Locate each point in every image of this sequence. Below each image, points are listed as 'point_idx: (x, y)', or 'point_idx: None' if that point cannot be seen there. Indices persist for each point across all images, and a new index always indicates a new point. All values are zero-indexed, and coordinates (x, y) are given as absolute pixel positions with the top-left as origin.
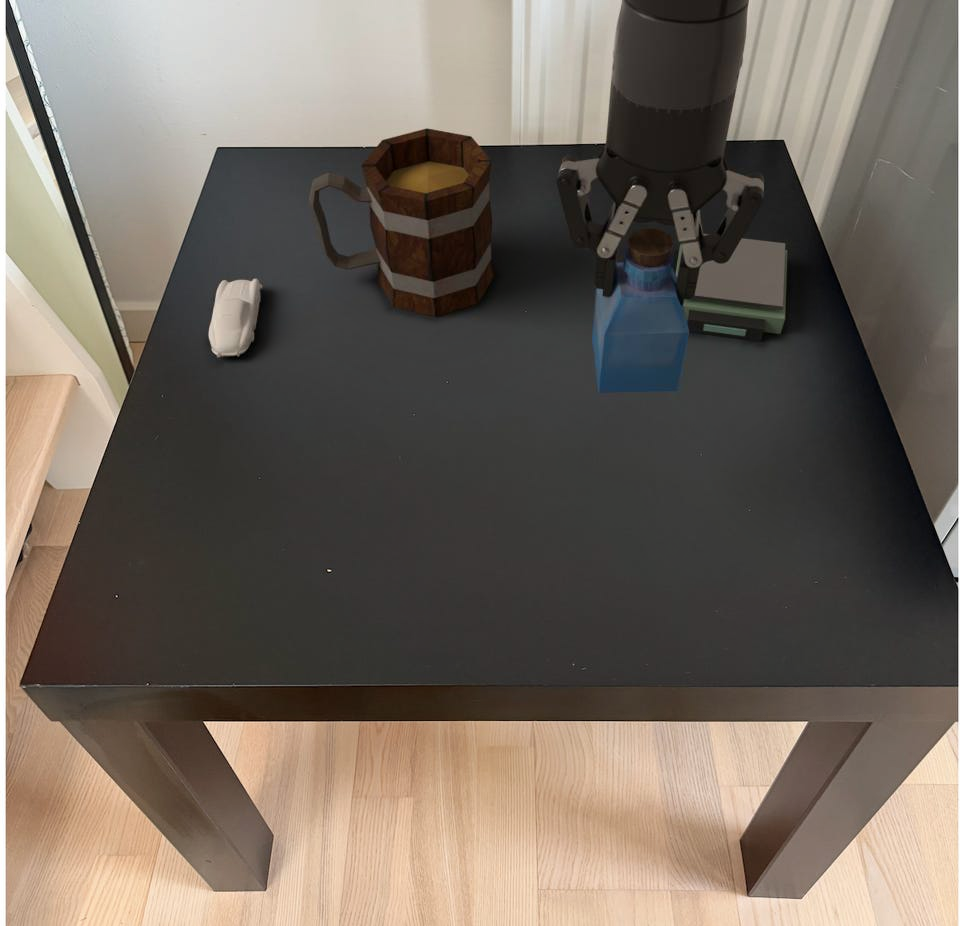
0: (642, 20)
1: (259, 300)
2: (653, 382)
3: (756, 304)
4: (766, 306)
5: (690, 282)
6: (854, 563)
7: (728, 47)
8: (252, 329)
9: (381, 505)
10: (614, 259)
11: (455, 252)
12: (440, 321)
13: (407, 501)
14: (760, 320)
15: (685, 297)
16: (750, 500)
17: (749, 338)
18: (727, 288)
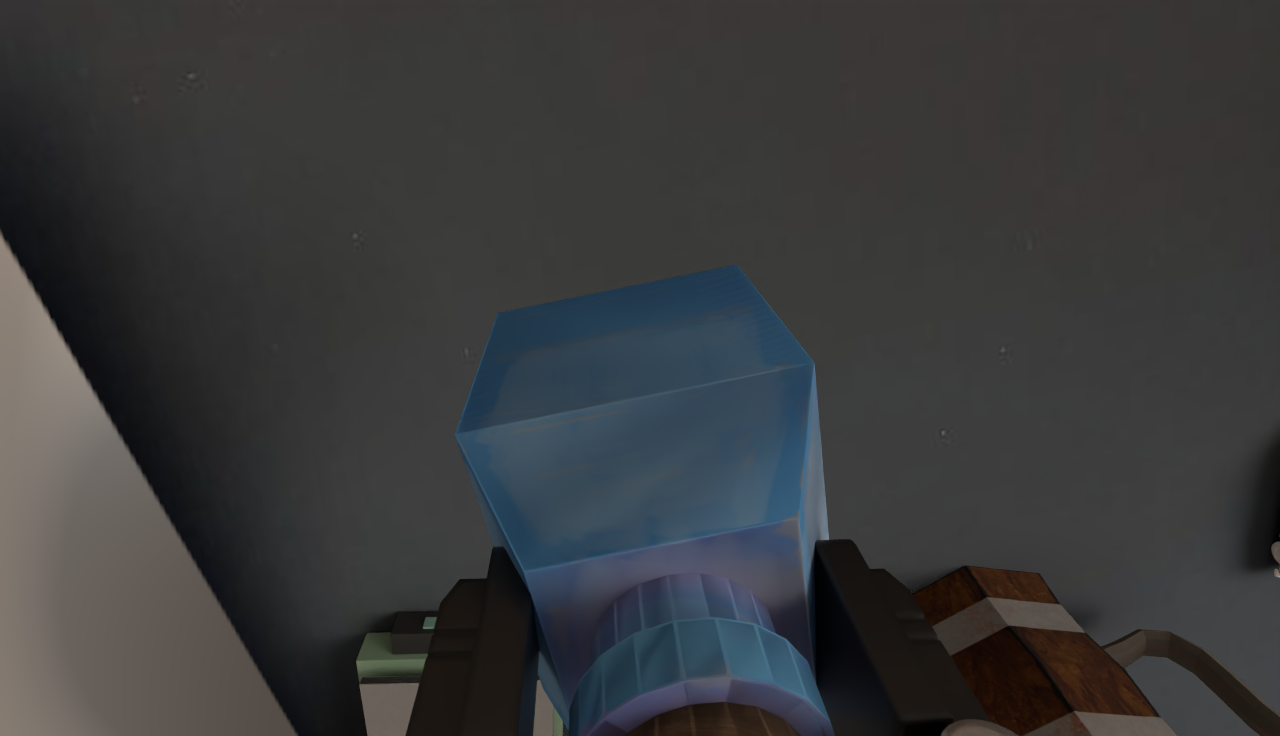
0: None
1: (1277, 545)
2: (574, 311)
3: (408, 680)
4: (390, 679)
5: (461, 657)
6: (125, 138)
7: None
8: None
9: (1066, 121)
10: (906, 721)
11: (993, 691)
12: (957, 558)
13: (1015, 140)
14: (400, 651)
15: (485, 584)
16: (356, 260)
17: (417, 614)
18: None
